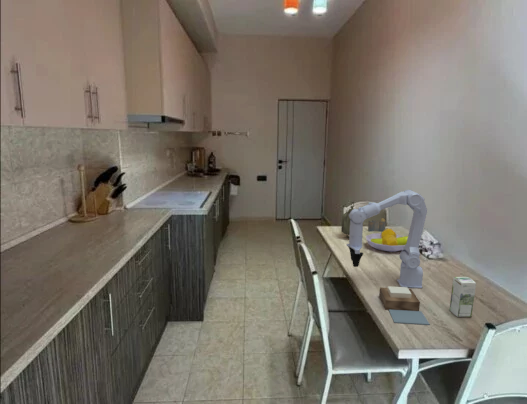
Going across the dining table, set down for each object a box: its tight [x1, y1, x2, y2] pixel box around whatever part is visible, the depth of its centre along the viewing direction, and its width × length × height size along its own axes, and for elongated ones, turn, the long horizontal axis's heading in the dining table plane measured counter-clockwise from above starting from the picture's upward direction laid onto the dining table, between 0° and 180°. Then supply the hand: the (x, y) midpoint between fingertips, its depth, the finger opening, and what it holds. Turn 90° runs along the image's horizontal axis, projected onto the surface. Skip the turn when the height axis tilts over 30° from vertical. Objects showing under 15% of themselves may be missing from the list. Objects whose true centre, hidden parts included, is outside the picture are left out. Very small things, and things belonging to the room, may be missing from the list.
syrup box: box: [449, 276, 477, 318], centre depth 136 cm, size 6×6×14 cm
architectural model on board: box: [367, 217, 387, 232], centre depth 252 cm, size 11×3×10 cm, turn 87°
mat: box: [388, 310, 430, 326], centre depth 135 cm, size 12×10×1 cm
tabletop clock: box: [340, 201, 355, 239], centre depth 233 cm, size 14×9×25 cm, turn 150°
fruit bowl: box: [365, 227, 408, 253], centre depth 213 cm, size 28×27×11 cm
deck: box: [378, 287, 421, 311], centre depth 146 cm, size 13×12×4 cm
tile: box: [387, 285, 411, 298], centre depth 145 cm, size 8×6×2 cm
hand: (354, 263), depth 164 cm, fingers open, 7 cm apart
